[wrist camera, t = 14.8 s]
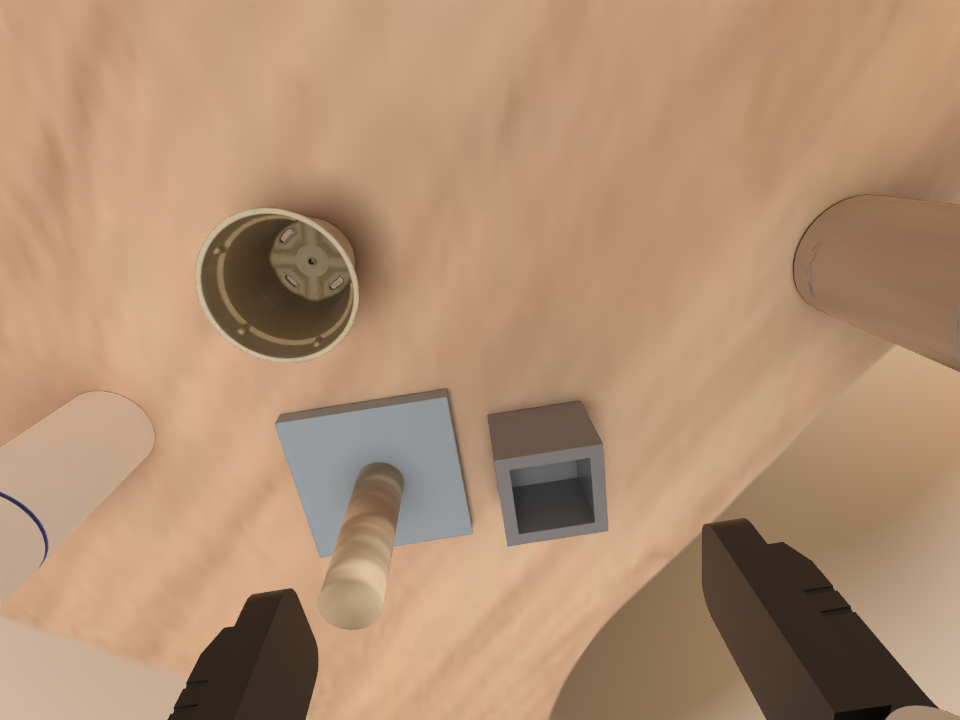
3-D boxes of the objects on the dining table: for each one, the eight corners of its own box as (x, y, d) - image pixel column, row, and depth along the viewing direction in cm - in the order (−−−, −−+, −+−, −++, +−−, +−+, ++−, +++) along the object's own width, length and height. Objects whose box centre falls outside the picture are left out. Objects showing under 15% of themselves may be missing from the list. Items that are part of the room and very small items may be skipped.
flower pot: (352, 339, 41) (329, 385, 33) (232, 292, 39) (177, 329, 31) (396, 228, 38) (381, 250, 30) (268, 171, 36) (217, 178, 28)
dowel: (398, 459, 44) (374, 577, 32) (408, 498, 45) (388, 625, 33) (351, 466, 44) (310, 586, 32) (362, 504, 45) (327, 633, 33)
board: (446, 389, 43) (446, 397, 42) (472, 523, 49) (472, 534, 47) (280, 414, 43) (274, 423, 42) (323, 546, 49) (320, 557, 47)
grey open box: (580, 400, 44) (603, 443, 38) (586, 478, 47) (608, 530, 41) (487, 415, 44) (494, 460, 38) (499, 491, 47) (507, 546, 41)
